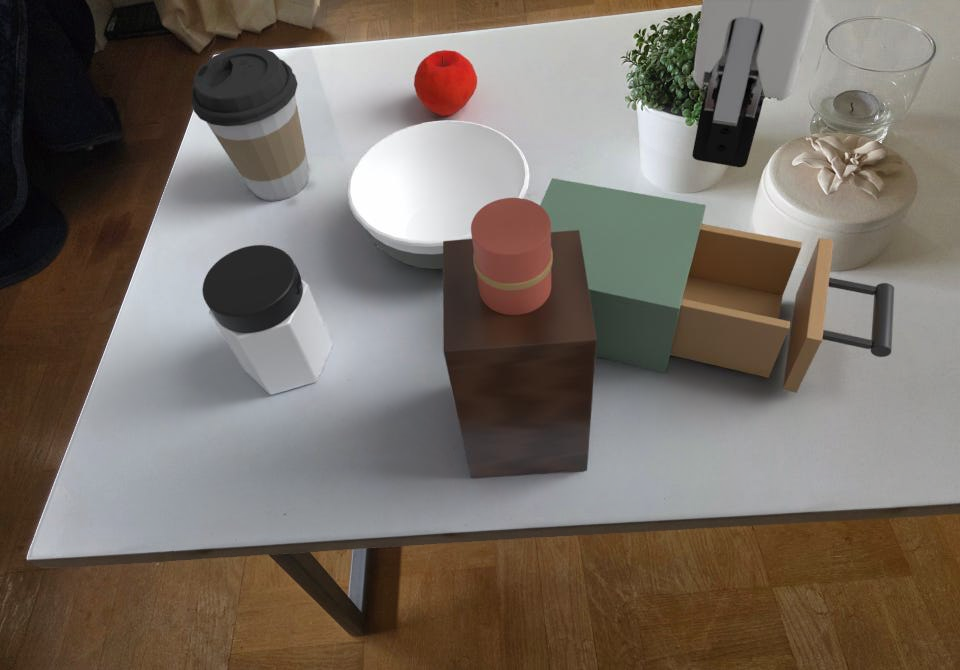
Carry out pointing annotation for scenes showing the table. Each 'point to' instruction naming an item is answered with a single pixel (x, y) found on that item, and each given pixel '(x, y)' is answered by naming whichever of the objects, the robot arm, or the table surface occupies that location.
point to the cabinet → (630, 264)
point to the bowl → (432, 186)
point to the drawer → (765, 305)
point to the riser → (521, 367)
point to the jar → (268, 317)
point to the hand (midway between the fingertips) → (720, 154)
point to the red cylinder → (512, 255)
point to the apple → (445, 82)
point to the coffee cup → (255, 118)
